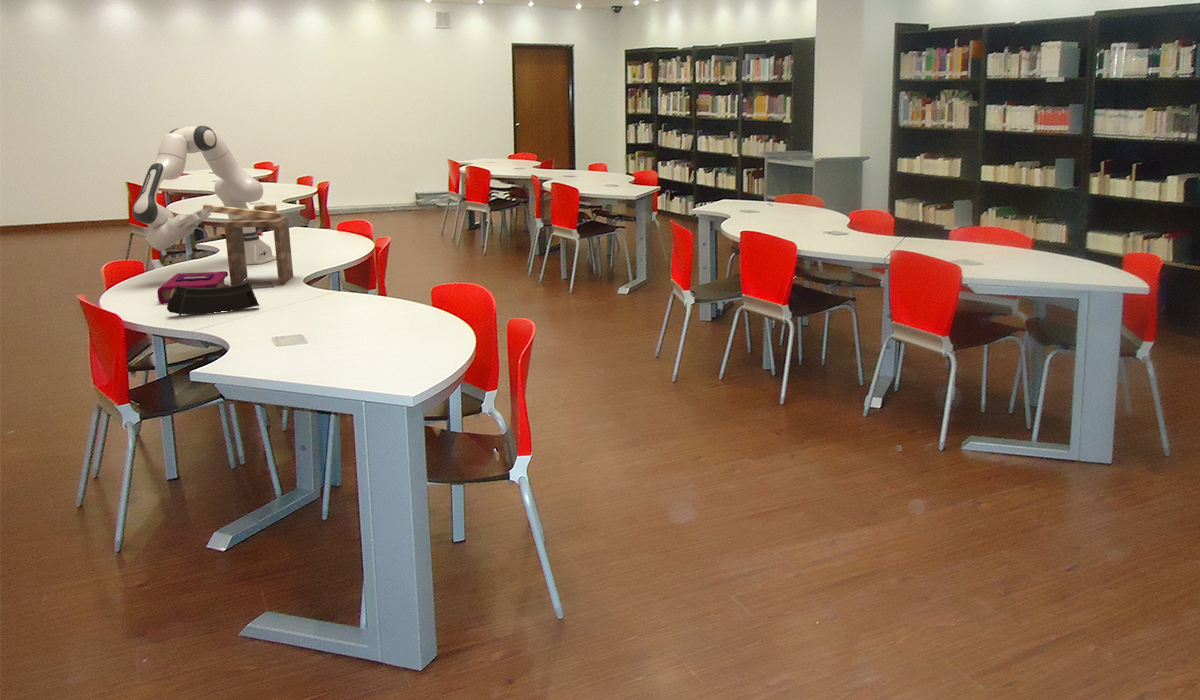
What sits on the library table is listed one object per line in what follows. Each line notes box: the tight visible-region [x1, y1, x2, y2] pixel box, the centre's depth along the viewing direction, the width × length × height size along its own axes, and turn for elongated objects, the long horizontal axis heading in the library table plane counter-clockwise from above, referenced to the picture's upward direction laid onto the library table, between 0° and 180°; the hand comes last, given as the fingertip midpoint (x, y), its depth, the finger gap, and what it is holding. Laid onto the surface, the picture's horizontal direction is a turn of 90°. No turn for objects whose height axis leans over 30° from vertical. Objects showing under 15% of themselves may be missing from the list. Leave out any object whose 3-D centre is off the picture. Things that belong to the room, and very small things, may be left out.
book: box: [156, 270, 230, 305], centre depth 375 cm, size 21×28×8 cm
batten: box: [202, 203, 276, 219], centre depth 395 cm, size 28×3×2 cm, turn 96°
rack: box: [223, 204, 294, 286], centre depth 399 cm, size 21×19×31 cm
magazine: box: [166, 280, 260, 317], centre depth 345 cm, size 17×3×30 cm
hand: (212, 207), depth 393 cm, fingers closed on batten, 3 cm apart
